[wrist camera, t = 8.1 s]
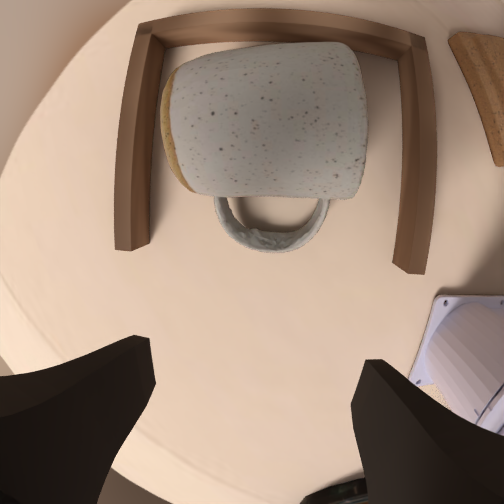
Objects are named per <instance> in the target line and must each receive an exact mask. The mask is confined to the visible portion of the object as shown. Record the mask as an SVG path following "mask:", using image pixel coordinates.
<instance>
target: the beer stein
mask: <svg viewBox="0 0 504 504" xmlns="http://www.w3.org/2000/svg"><path fill="white" fill-rule="evenodd" d="M300 504H368V491H367V484H366V478H363V479H357V480H353V481H350V482H346V483H343V484H339V485H335V486H331V487H328V488H326V489H323V490H321V491H319V492H316V493H313V494H311V495H308V496H306V497H305V498H304V499H303V500H302V502H301V503H300Z"/></svg>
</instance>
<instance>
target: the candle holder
mask: <svg viewBox="0 0 504 504" xmlns="http://www.w3.org/2000/svg"><path fill="white" fill-rule="evenodd" d="M448 43H449V45H450V47H451V50H452V52H453V54H454V56H455V58H456V60H457V62H458V64H459V66H460V68H461V70H462V72H463V75H464V77H465V79H466V81H467V84H468V86H469V88H470V91H471V93H472V96H473V98H474V101H475V103H476V106H477V109H478V112H479V114H480V117H481V120H482V123H483V127H484V130H485V133H486V136H487V140H488V143H489V147H490V150H491V154H492V157H493V161H494V163H495V165H496V166H498V167H501V166H504V38H502V37H497V36H492V35H481V34H476V33H470V32H458V33H456V34H455V35H454V36H453V37H451V38H450V39H449V40H448Z"/></svg>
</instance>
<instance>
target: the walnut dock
mask: <svg viewBox="0 0 504 504" xmlns="http://www.w3.org/2000/svg"><path fill="white" fill-rule="evenodd" d="M237 41H272V42H292V43H304V42H340V43H343V44H345V45H347V46H348V47H349V48H350V49H351V50H354V51H359V52H364V53H369V54H373V55H378V56H382V57H386V58H390V59H393V60H397V61H398V68H399V77H400V88H401V103H402V132H403V150H402V180H401V195H400V207H399V217H398V226H397V234H396V242H395V249H394V255H393V261H392V263H393V264H395V265H396V266H398V267H399V268H401V269H402V270H403V271H405V272H406V273H408V274H421V275H424V274H425V269H426V264H427V258H428V253H429V246H430V240H431V232H432V225H433V216H434V205H435V193H436V173H437V132H436V113H435V101H434V91H433V83H432V75H431V68H430V62H429V57H428V51H427V46H426V41H425V37H422V36H419V35H416V34H413V33H410V32H407V31H404V30H401V29H398V28H394V27H391V26H387V25H384V24H380V23H376V22H372V21H367V20H363V19H358V18H353V17H348V16H343V15H337V14H330V13H323V12H314V11H305V10H292V9H266V8H255V9H228V10H216V11H206V12H198V13H190V14H184V15H178V16H172V17H167V18H162V19H157V20H153V21H148V22H144V23H140V24H139V25H138V28H137V32H136V36H135V40H134V44H133V48H132V52H131V56H130V61H129V66H128V70H127V76H126V81H125V87H124V92H123V99H122V105H121V113H120V120H119V129H118V139H117V150H116V164H115V185H114V237H115V250H122V251H133V250H135V249H138V248H140V247H142V246H145V245H147V244H149V204H150V176H151V158H152V145H153V133H154V123H155V114H156V106H157V98H158V91H159V84H160V77H161V71H162V65H163V60H164V54H165V49H166V48H172V47H179V46H187V45H195V44H205V43H217V42H237Z"/></svg>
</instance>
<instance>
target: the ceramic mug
mask: <svg viewBox="0 0 504 504" xmlns="http://www.w3.org/2000/svg"><path fill="white" fill-rule="evenodd" d="M160 124H161V134H162V139H163V145H164V150H165V153H166V156H167V160H168V162H169V165H170V167H171V170H172V171H173V173H174V174H175V176H176V177H177V179H178V180H179V181H180V183H181V184H182V185H184V186H185V187H186V188H187V189H188V190H189V191H191V192H194V193H198V194H201V195H208V196H214V205H215V211H216V213H217V216H218V219H219V222H220V223H221V225H222V227H223V228H224V230H225V232H226V233H227V234H228V235H229V236H230V237H231V238H232V239H234V240H235V241H236V242H238V243H239V244H241V245H243V246H244V247H246V248H249V249H252V250H257V251H260V252H266V253H284V252H290V251H293V250H296V249H298V248H300V247H302V246H303V245H305V244H306V243H307V242H308V241H310V240H311V239H312V238H313V237H314V235H315V234H316V233H317V232H318V230H319V229H320V227H321V225H322V223H323V221H324V219H325V217H326V214H327V211H328V208H329V203H330V199H340V200H346V199H350V198H353V197H354V196H355V194H356V193H357V191H358V189H359V186H360V184H361V180H362V177H363V173H364V168H365V162H366V150H367V143H368V117H367V101H366V93H365V87H364V83H363V79H362V75H361V70H360V66H359V63H358V60H357V57H356V55H355V54H354V52H353V51H352V50H351V49H350V48H349V47H348V46H347V45H345V44H343V43H340V42H304V43H282V44H270V45H262V46H255V47H248V48H240V49H233V50H226V51H221V52H215V53H211V54H207V55H204V56H201V57H198V58H196V59H194V60H191V61H189V62H186V63H184V64H182V65H181V66H179V67H178V68H176V69H175V70H174V72H173V73H172V74H171V75H170V77H169V79H168V81H167V83H166V86H165V88H164V90H163V94H162V100H161V107H160ZM252 196H272V197H294V198H319V201H318V204H317V207H316V210H315V212H314V214H313V215H312V217H311V219H310V220H309V221H308V223H307V224H306V225H305V226H303V227H302V228H301V229H299V230H297V231H292V232H290V233H280V232H267V231H261V230H259V229H257V228H253V229H248V228H246V227H244V226H243V225H242V224H241V223H240V222H239V221H238V220H237V219H236V218H235V217H234V215H233V214H232V210H231V209H230V208H229V204H228V201H227V198H226V197H252Z"/></svg>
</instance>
